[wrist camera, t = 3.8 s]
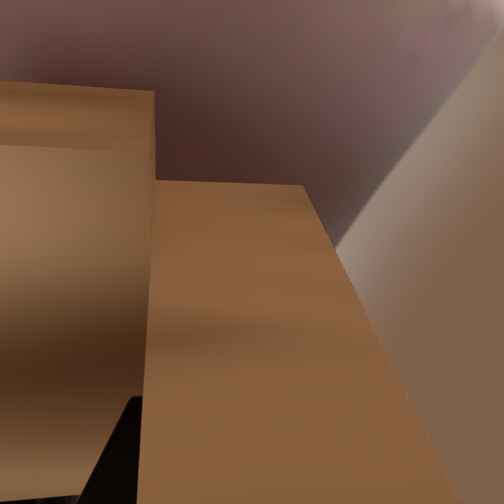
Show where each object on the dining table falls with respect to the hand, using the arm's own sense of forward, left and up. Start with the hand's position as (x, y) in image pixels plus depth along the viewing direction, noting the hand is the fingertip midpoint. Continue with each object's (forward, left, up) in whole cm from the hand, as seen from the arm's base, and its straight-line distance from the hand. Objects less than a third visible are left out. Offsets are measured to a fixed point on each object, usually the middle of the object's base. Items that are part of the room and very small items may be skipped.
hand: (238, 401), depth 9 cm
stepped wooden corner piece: (0, +3, -4) cm, 5 cm away
